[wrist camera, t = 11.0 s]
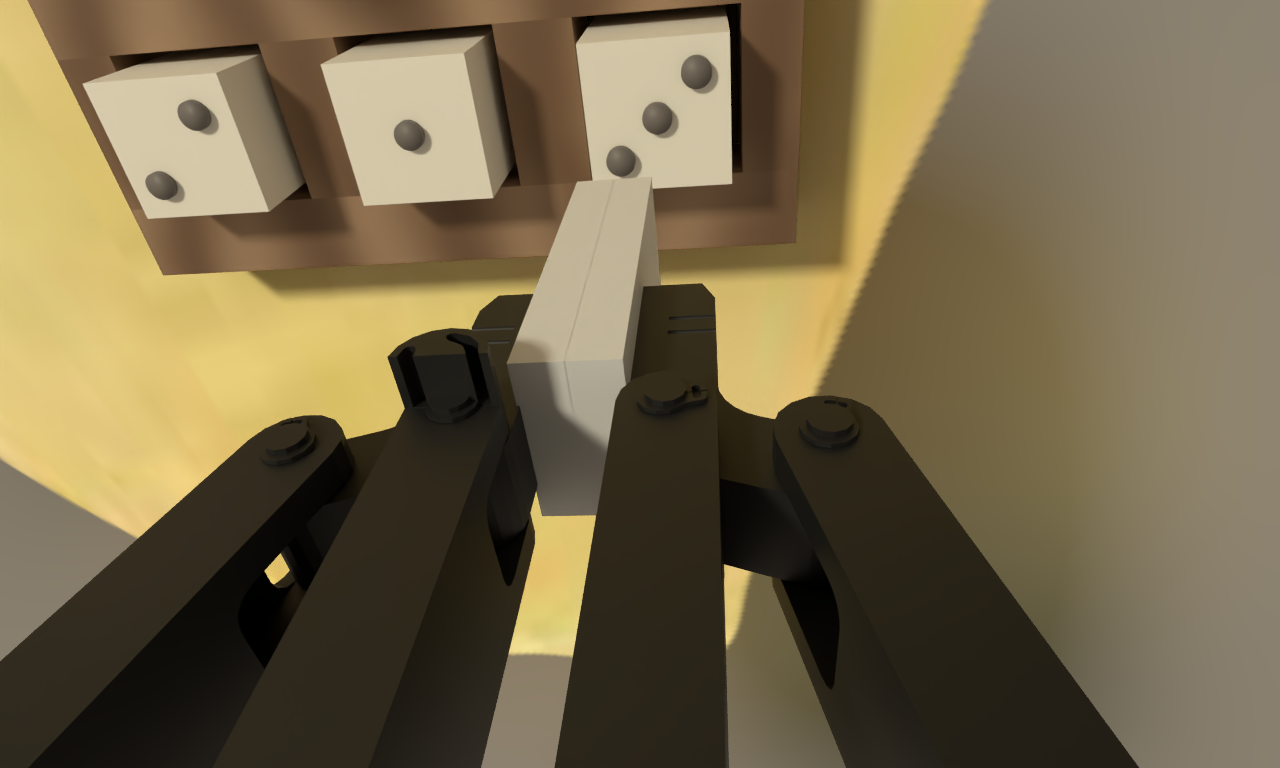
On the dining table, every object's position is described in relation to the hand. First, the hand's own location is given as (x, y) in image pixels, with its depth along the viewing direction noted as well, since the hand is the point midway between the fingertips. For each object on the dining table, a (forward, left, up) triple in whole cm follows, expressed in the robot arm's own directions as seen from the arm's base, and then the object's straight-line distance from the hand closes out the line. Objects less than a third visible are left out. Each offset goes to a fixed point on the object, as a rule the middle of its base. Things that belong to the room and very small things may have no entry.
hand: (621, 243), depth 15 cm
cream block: (+8, -6, -20) cm, 22 cm away
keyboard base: (+8, -6, -21) cm, 23 cm away
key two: (+14, -13, -20) cm, 27 cm away
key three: (+1, +1, -20) cm, 20 cm away
